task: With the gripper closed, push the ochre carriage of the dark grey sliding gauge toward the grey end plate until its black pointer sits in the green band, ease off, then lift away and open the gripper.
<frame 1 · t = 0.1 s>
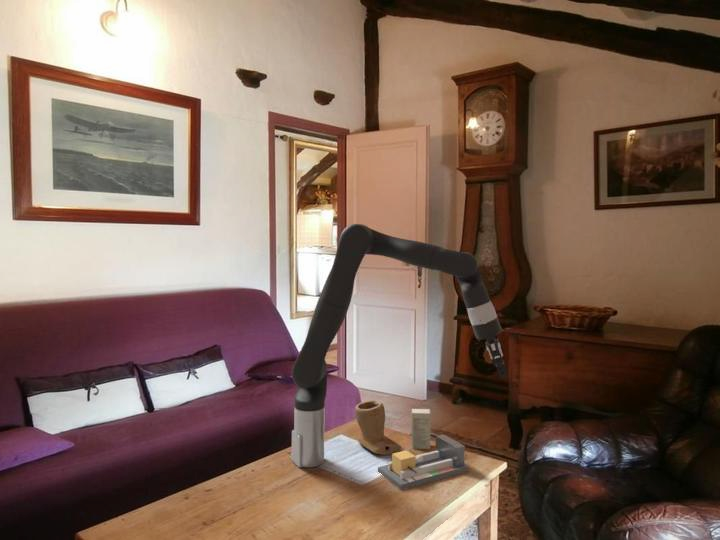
hand: (503, 373, 148), 31 cm above the table, tool tilted 20°, fingers open, 8 cm apart
skincare box: (420, 447, 173), on the table
brown clay boot: (374, 448, 171), on the table
gauge carriage: (413, 464, 150), point 4 cm above the table, slide at 0.0 cm
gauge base: (422, 471, 155), on the table
grey end plate: (449, 464, 160), resting on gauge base
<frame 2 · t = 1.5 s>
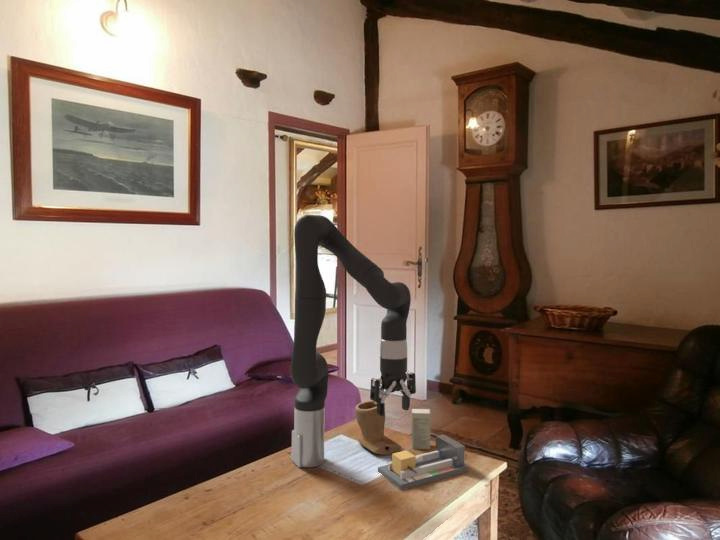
hand: (393, 412, 145), 21 cm above the table, tool pointing down, fingers open, 8 cm apart
nothing on the table moved.
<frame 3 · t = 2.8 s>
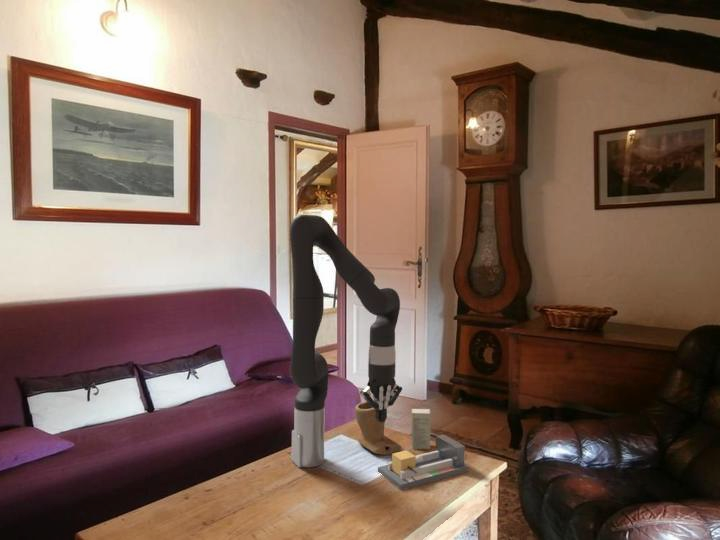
hand: (381, 421, 146), 18 cm above the table, tool pointing down, fingers closed
nothing on the table moved.
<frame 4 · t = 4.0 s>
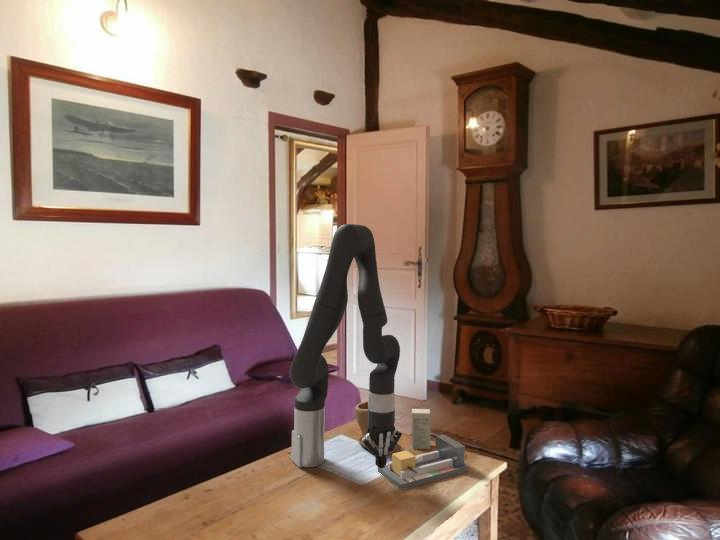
hand: (380, 467, 147), 5 cm above the table, tool pointing down, fingers closed
nothing on the table moved.
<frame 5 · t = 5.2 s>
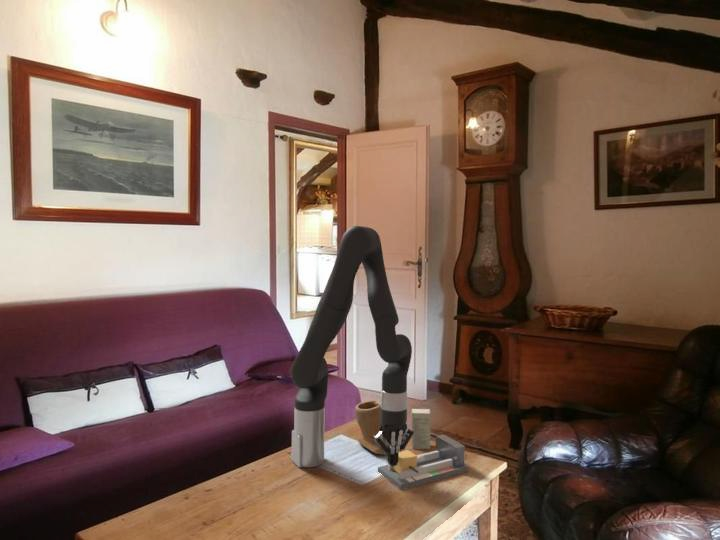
hand: (392, 464, 149), 5 cm above the table, tool pointing down, fingers closed
gauge carriage: (414, 463, 151), point 4 cm above the table, slide at 0.5 cm, touching gripper
everything else where it was.
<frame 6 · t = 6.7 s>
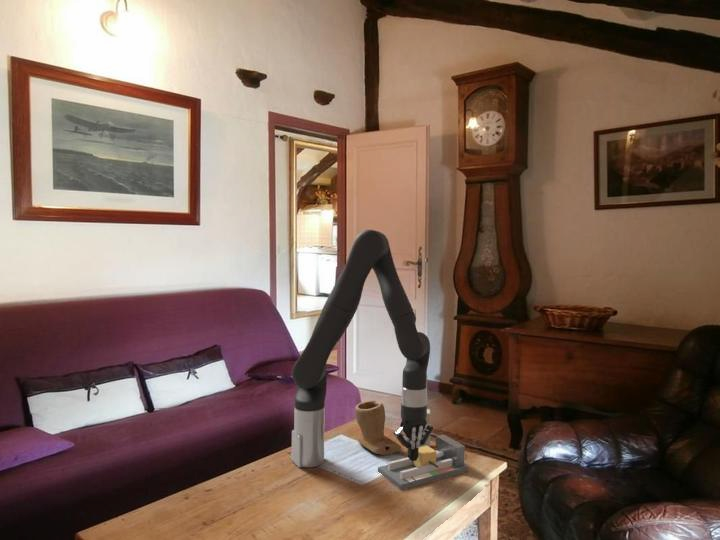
hand: (412, 459, 152), 5 cm above the table, tool pointing down, fingers closed
gauge carriage: (434, 459, 154), point 4 cm above the table, slide at 7.5 cm, touching gripper
everything else where it was.
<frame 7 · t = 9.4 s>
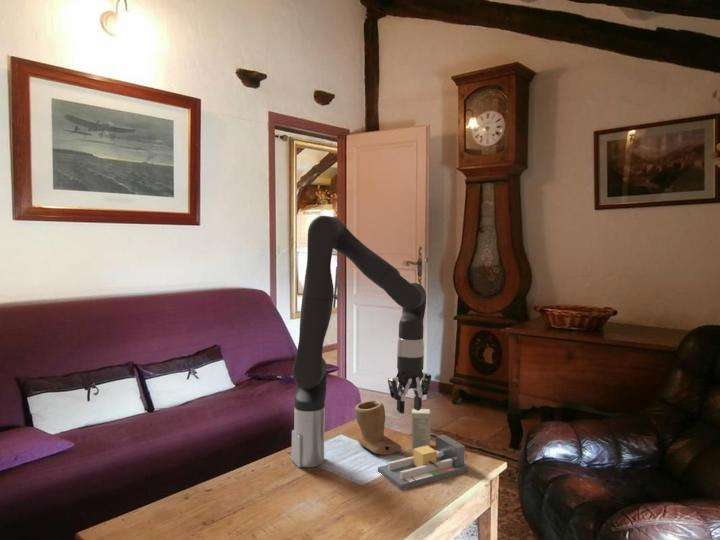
hand: (409, 411, 151), 19 cm above the table, tool pointing down, fingers open, 5 cm apart
gauge carriage: (434, 458, 154), point 4 cm above the table, slide at 7.6 cm
everything else where it was.
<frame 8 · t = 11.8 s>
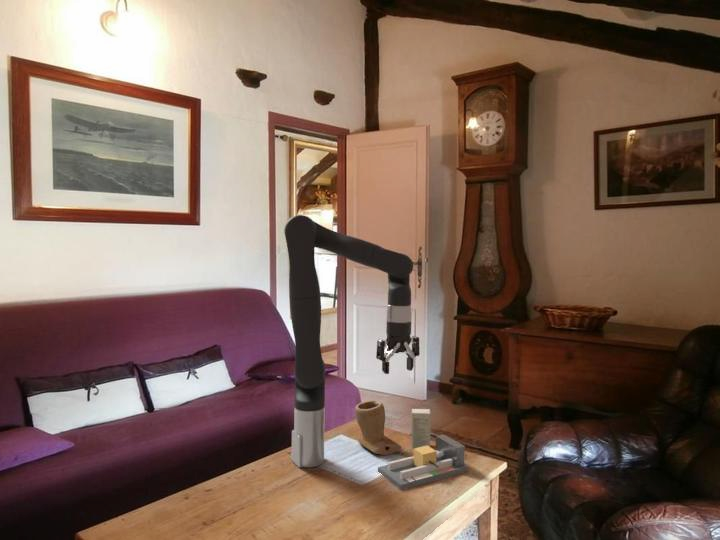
hand: (397, 371, 160), 28 cm above the table, tool pointing down, fingers open, 8 cm apart
nothing on the table moved.
at the end: gauge carriage slide at 7.6 cm; brown clay boot moved 0.3 cm from its start; skincare box moved 0.2 cm from its start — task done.
